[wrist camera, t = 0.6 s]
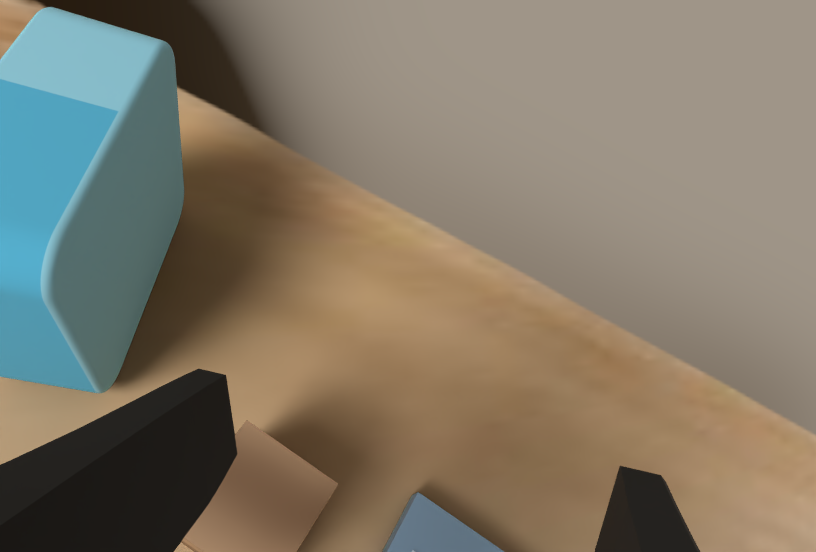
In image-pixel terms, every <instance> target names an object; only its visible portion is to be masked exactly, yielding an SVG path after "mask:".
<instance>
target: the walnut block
mask: <svg viewBox="0 0 816 552" xmlns="http://www.w3.org/2000/svg"><path fill="white" fill-rule="evenodd" d="M235 440H236V447H237V453H238V454H237V456H236V458H235V460H234V461H233V463H232V465H231V467H230V469H229V471H228V472H227V474H226V476H225V478H224V480H223V481H222V483H221V485H220V486H219V488H218V490H217V491H216V493H215V495H214V496H213V498H212V500H211V501H210V503H209V504H208V506H207V507H206V508H205V510H204V511H203V513H202V514H201V515H200V517H199V518H198V519H197V521H196V522H195V524H194V525H193V526H192V528H191V529H190V530H189V532H188V533H187V534H186V536H185V537H184V538H183V540H182V541H181V542H182V543H183V544H184V545H186V546H187V547H189V548H190V549H191V550H193V551H194V552H297V550H298V549H299V547H300V545H301V544H302V542H303V541H304V539H305V537H306V536H307V534H308V532H309V531H310V529H311V528H312V526H313V524H314V523H315V521H316V520H317V518H318V516H319V515H320V513H321V511H322V510H323V508H324V507H325V505H326V503H327V502H328V500H329V499H330V497H331V495H332V494H333V492H334V491H335V489H336V487H337V486H338V483H336V482H335V481H334V480H332V479H331V478H329V477H328V476H326V475H325V474H324V473H322V472H321V471H319V470H318V469H316V468H315V467H313V466H312V465H311V464H309V463H308V462H306V461H305V460H303V459H302V458H301V457H299V456H298V455H296V454H295V453H293V452H292V451H291V450H289V449H288V448H286V447H285V446H283V445H282V444H281V443H279V442H278V441H276V440H275V439H273V438H272V437H270V436H269V435H268V434H266V433H265V432H263V431H262V430H260V429H259V428H258V427H256V426H255V425H253V424H252V423H250V422H249V421H248V420H246V422H245V423H244V424H243V425H242V427H241V428H240V429H239V430H238V432H237V433H236V434H235Z"/></svg>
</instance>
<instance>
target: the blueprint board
mask: <svg viewBox="0 0 816 552" xmlns="http://www.w3.org/2000/svg"><path fill="white" fill-rule="evenodd" d="M382 552H504V551H502V550H501V549H500V548H498V547H497V546H495V545H494V544H492V543H491V542H489V541H488V540H487V539H485V538H484V537H482V536H481V535H479V534H478V533H477V532H475V531H474V530H472V529H471V528H469V527H468V526H466V525H465V524H464V523H462V522H461V521H459V520H458V519H456V518H455V517H453V516H452V515H451V514H449V513H448V512H446V511H445V510H443V509H442V508H440V507H439V506H438V505H436V504H435V503H433V502H432V501H430V500H429V499H428V498H426V497H425V496H423V495H422V494H420V493H419V492H417V493H415V494H413V495H412V496H411V498H410V500H409V502H408V504H407V506H406V507H405V509H404V511H403V513H402V515H401V517H400V519H399V521H398V523H397V525H396V526H395V528H394V530H393V532H392V534H391V536H390V538H389V540H388V542H387V544H386V545H385V547H384V549H383V551H382Z"/></svg>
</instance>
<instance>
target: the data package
mask: <svg viewBox="0 0 816 552" xmlns="http://www.w3.org/2000/svg"><path fill="white" fill-rule="evenodd" d="M183 201H184V180H183V167H182V153H181V139H180V126H179V112H178V98H177V85H176V72H175V59H174V54H173V51H172V48H171V47H170V45H169V44H168V43H167V42H165V41H162V40H159V39H156V38H152V37H149V36H146V35H142V34H139V33H136V32H132V31H129V30H126V29H123V28H119V27H116V26H113V25H109V24H106V23H103V22H100V21H96V20H93V19H89V18H86V17H83V16H79V15H76V14H73V13H70V12H67V11H63V10H60V9H57V8H52V7H48V8H44V9H42V10H40V11H39V12H37V13H36V14H35V16H34V17H33V18H32V19H31V21H30V22H29V23H28V25H27V26H26V27H25V28H24V30H23V31H22V32H21V34H20V35H19V36H18V37H17V39H16V40H15V41H14V43H13V44H12V45H11V47H10V48H9V49H8V50H7V52H6V53H5V54H4V56H3V57H2V58H1V59H0V377H6V378H11V379H17V380H23V381H29V382H35V383H41V384H47V385H53V386H59V387H65V388H70V389H76V390H82V391H88V392H94V393H103V392H105V391H107V390H108V389H109V388H110V387H111V386H112V385H113V383H114V382H115V380H116V378H117V376H118V374H119V372H120V369H121V367H122V365H123V362H124V359H125V357H126V354H127V352H128V349H129V347H130V344H131V342H132V339H133V337H134V334H135V331H136V329H137V326H138V324H139V321H140V319H141V316H142V314H143V311H144V309H145V306H146V304H147V301H148V298H149V296H150V293H151V291H152V288H153V286H154V283H155V281H156V278H157V276H158V273H159V271H160V268H161V265H162V263H163V260H164V258H165V255H166V253H167V250H168V248H169V245H170V243H171V240H172V237H173V235H174V232H175V230H176V227H177V225H178V222H179V219H180V215H181V212H182V207H183Z"/></svg>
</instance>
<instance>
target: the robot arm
mask: <svg viewBox="0 0 816 552" xmlns="http://www.w3.org/2000/svg"><path fill="white" fill-rule="evenodd" d="M237 454H238V453H237V447H236V440H235V433H234V426H233V420H232V413H231V406H230V399H229V393H228V386H227V379H226V375H223V374H219V373H215V372H210V371H206V370H202V369H197V370H195V371H193V372H190V373H188V374H186V375H184V376H182V377H180V378H177V379H175V380H173V381H171V382H169V383H167V384H165V385H163V386H161V387H159V388H157V389H155V390H154V391H152V392H150V393H148V394H146V395H144V396H142V397H140V398H138V399H136V400H134V401H132V402H130V403H128V404H126V405H124V406H122V407H120V408H118V409H116V410H114V411H112V412H110V413H108V414H106V415H104V416H103V417H101V418H99V419H97V420H95V421H93V422H91V423H89V424H87V425H85V426H83V427H81V428H79V429H77V430H75V431H72V432H70V433H68V434H66V435H64V436H62V437H60V438H58V439H55V440H53V441H51V442H49V443H47V444H45V445H43V446H40V447H38V448H36V449H34V450H32V451H30V452H28V453H25V454H23V455H21V456H19V457H17V458H15V459H13V460H11V461H8V462H6V463H4V464H1V465H0V552H174V550H175V549H176V548H177V546H178V545H179V544H180V542H181V541H182V540H183V538H184V537H185V536H186V534H187V533H188V532H189V530H190V529H191V528H192V526H193V525H194V524H195V522H196V521H197V519H198V518H199V517H200V515H201V514H202V513H203V511H204V510H205V508H206V507H207V506H208V504H209V503H210V501H211V500H212V498H213V496H214V495H215V493H216V491H217V490H218V488H219V486H220V485H221V483H222V481H223V480H224V478H225V476H226V474H227V472H228V471H229V469H230V467H231V465H232V463H233V461H234V460H235V458H236V456H237ZM595 552H700V550H699V549H698V547H697V545H696V543H695V541H694V539H693V537H692V535H691V533H690V531H689V529H688V527H687V525H686V523H685V521H684V519H683V517H682V515H681V513H680V511H679V509H678V507H677V505H676V503H675V501H674V498H673V496H672V494H671V492H670V490H669V488H668V486H667V484H666V482H665V480H664V479H663V478H662V476H661V475H657V474H653V473H649V472H644V471H640V470H636V469H631V468H627V467H623V466H620V468H619V471H618V474H617V478H616V481H615V484H614V488H613V491H612V495H611V498H610V501H609V505H608V508H607V511H606V515H605V518H604V521H603V525H602V528H601V532H600V535H599V538H598V542H597V545H596V548H595Z"/></svg>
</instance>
